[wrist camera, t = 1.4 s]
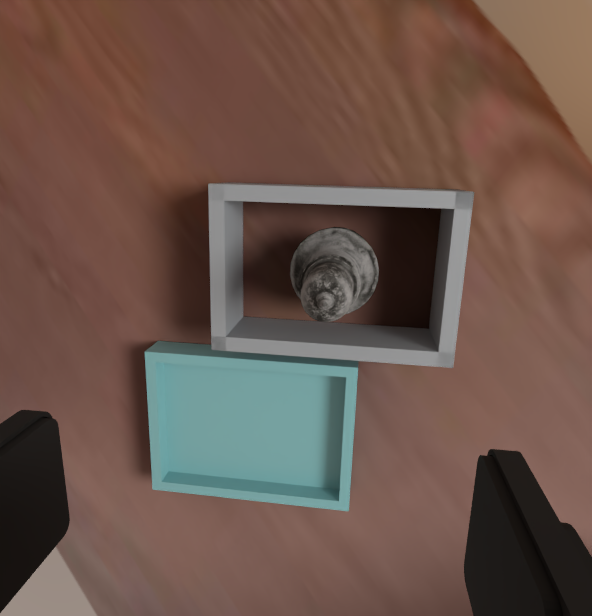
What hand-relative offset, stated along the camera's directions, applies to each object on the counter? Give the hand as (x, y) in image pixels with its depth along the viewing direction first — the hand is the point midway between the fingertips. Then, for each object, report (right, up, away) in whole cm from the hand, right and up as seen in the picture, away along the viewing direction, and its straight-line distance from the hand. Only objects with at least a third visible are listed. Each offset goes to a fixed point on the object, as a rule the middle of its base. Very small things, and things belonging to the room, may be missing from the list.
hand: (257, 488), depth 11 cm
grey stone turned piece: (+4, +7, +25) cm, 27 cm away
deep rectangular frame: (+4, +7, +25) cm, 26 cm away
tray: (-3, -5, +29) cm, 30 cm away
